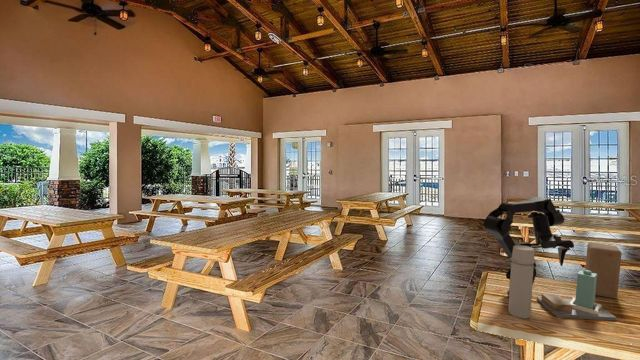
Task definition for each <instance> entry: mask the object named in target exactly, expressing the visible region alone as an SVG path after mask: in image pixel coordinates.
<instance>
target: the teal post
mask: <svg viewBox="0 0 640 360" xmlns="http://www.w3.org/2000/svg"><path fill="white" fill-rule="evenodd" d="M576 279H577V280H576V291H575V298H576V300H575V305H578V306H582V307H585V308H589V309H592V310H593V308H594V303H596V302H595V301H596V300H595V299H596V295H595V291H596V280H597V274H596V273H592V271H589V270H585V269H583V270H579V272H577V277H576Z"/></svg>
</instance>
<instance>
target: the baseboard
mask: <svg viewBox="0 0 640 360" xmlns="http://www.w3.org/2000/svg"><path fill="white" fill-rule="evenodd" d="M541 298H542V296H541V297H539V296H537V298H536V301H538V302H539V304H541V305H542V306H544V307H545V309H547V310H548V311H549V312H550V313H552V315H554V316H555V317H556V318H563V319H580V320H599V321H614V322H615V321H617V317H616V316H615V315H614V314H613V313H611V312H609V311H608V310H607V309H605V308H603V304H600V303H597V302H594V308H593V310H592V309H589V308H585V307H582V306H578V305H575V300H576V297H574V296H573V297H571V298H563V297H562V298H563V299H565V300H566V301H567V302H569V303H570V304H572V312H567V311H554V310H553V309H552V308H550V307H549V306H548V305H547V304H546V303H544V302H543V301H542V300H541Z"/></svg>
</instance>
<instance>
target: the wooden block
mask: <svg viewBox="0 0 640 360" xmlns="http://www.w3.org/2000/svg"><path fill="white" fill-rule="evenodd" d="M586 247H587V248H586V259H585V269H584V270H589V271H592V273H596V274H597V280H596V291H595V296H600V297H604V298H609V299H617V298H618V295H619V285H620V283H619V282H620V276H621V275H620V274H621V263H622V255H623V254H622V251H621V250H620V249H619V247H618V246H617V245H613V244H604V243H597V242H588V243H587V246H586Z"/></svg>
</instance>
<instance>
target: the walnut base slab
mask: <svg viewBox="0 0 640 360" xmlns="http://www.w3.org/2000/svg"><path fill="white" fill-rule="evenodd" d="M541 297H542V298H541V300H542V301H543V302H544V303H546V304H547V305H548V306H549V307H550V308H552V309H553V310H554V311H567V312H572V304H570V303H569V302H567V301H566V300H565V299H566V298H564V299H563V297H562V296H561V295H560V294H552V293H541Z"/></svg>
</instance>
